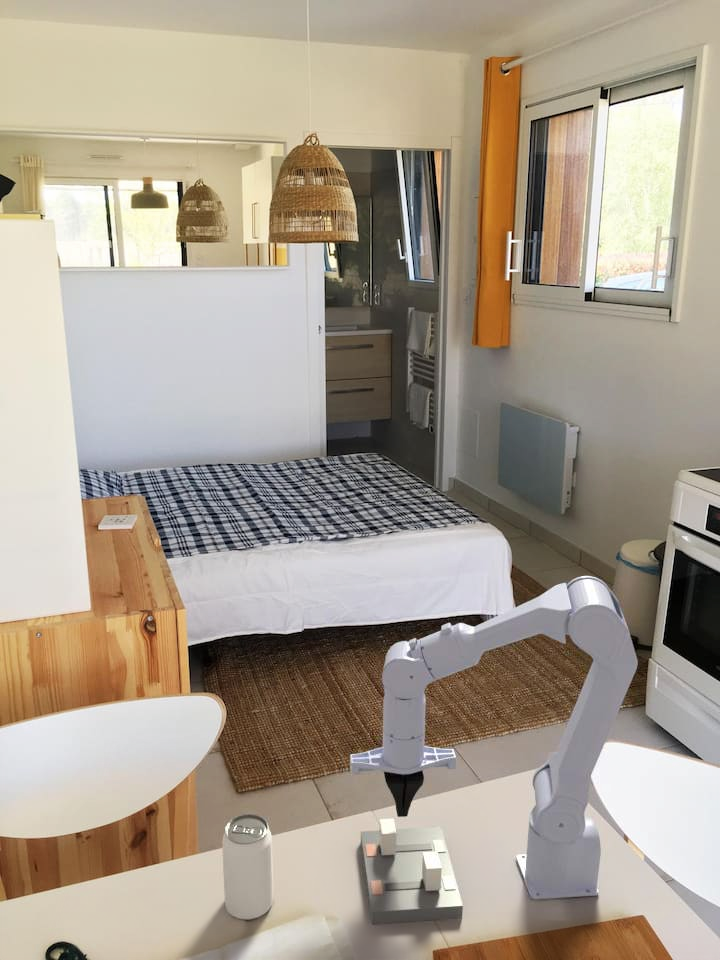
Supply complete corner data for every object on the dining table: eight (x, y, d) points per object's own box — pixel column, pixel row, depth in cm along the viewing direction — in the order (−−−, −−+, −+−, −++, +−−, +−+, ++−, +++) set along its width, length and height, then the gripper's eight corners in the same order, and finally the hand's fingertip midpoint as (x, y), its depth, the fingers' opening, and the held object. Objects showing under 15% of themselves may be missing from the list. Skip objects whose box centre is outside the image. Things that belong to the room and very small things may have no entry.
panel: (440, 838, 123) (441, 826, 122) (462, 918, 108) (462, 905, 108) (360, 842, 121) (360, 830, 121) (371, 924, 107) (371, 911, 106)
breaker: (436, 873, 113) (437, 851, 112) (440, 890, 110) (441, 867, 109) (422, 874, 112) (422, 852, 111) (425, 890, 109) (426, 868, 108)
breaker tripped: (393, 839, 119) (393, 818, 118) (395, 854, 116) (396, 833, 115) (379, 840, 119) (379, 819, 118) (381, 855, 116) (382, 834, 115)
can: (265, 925, 107) (262, 849, 103) (217, 917, 108) (214, 841, 104) (279, 888, 113) (277, 815, 109) (234, 881, 114) (231, 808, 111)
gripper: (450, 709, 116) (446, 790, 120) (348, 714, 115) (348, 796, 119) (461, 738, 110) (456, 823, 113) (352, 743, 108) (352, 830, 112)
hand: (401, 812), depth 116 cm, fingers closed
